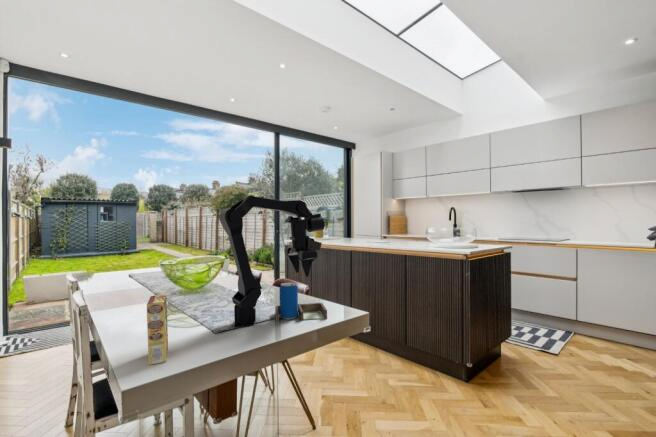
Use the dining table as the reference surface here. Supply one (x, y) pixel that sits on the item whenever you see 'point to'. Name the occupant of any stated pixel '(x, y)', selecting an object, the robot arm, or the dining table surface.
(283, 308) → the beverage can
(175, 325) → the dining table surface
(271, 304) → the dining table surface
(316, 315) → the slot rack
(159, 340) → the candy box
